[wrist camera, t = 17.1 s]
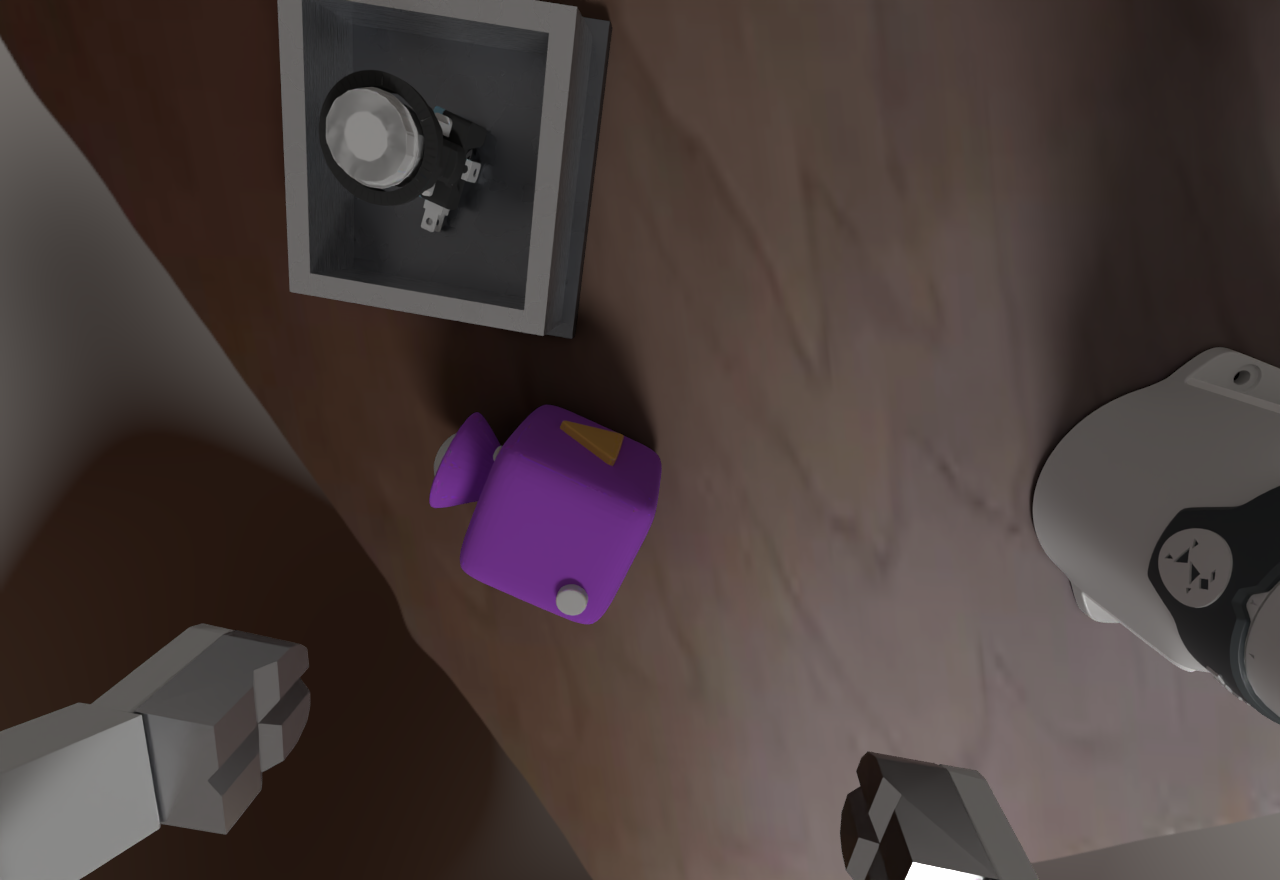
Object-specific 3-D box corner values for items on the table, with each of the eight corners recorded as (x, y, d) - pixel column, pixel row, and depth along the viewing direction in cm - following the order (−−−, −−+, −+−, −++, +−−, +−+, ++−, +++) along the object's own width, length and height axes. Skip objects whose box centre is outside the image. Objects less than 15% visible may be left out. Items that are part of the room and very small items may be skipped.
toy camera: (473, 373, 40) (405, 417, 30) (673, 423, 40) (666, 483, 30) (454, 514, 43) (387, 592, 34) (636, 560, 43) (620, 651, 34)
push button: (477, 248, 36) (400, 254, 27) (394, 210, 36) (286, 203, 26) (513, 134, 34) (443, 98, 24) (425, 93, 33) (319, 40, 24)
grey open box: (612, 27, 32) (596, -11, 27) (574, 336, 38) (556, 352, 33) (326, -18, 33) (258, -65, 28) (332, 293, 39) (276, 303, 34)
